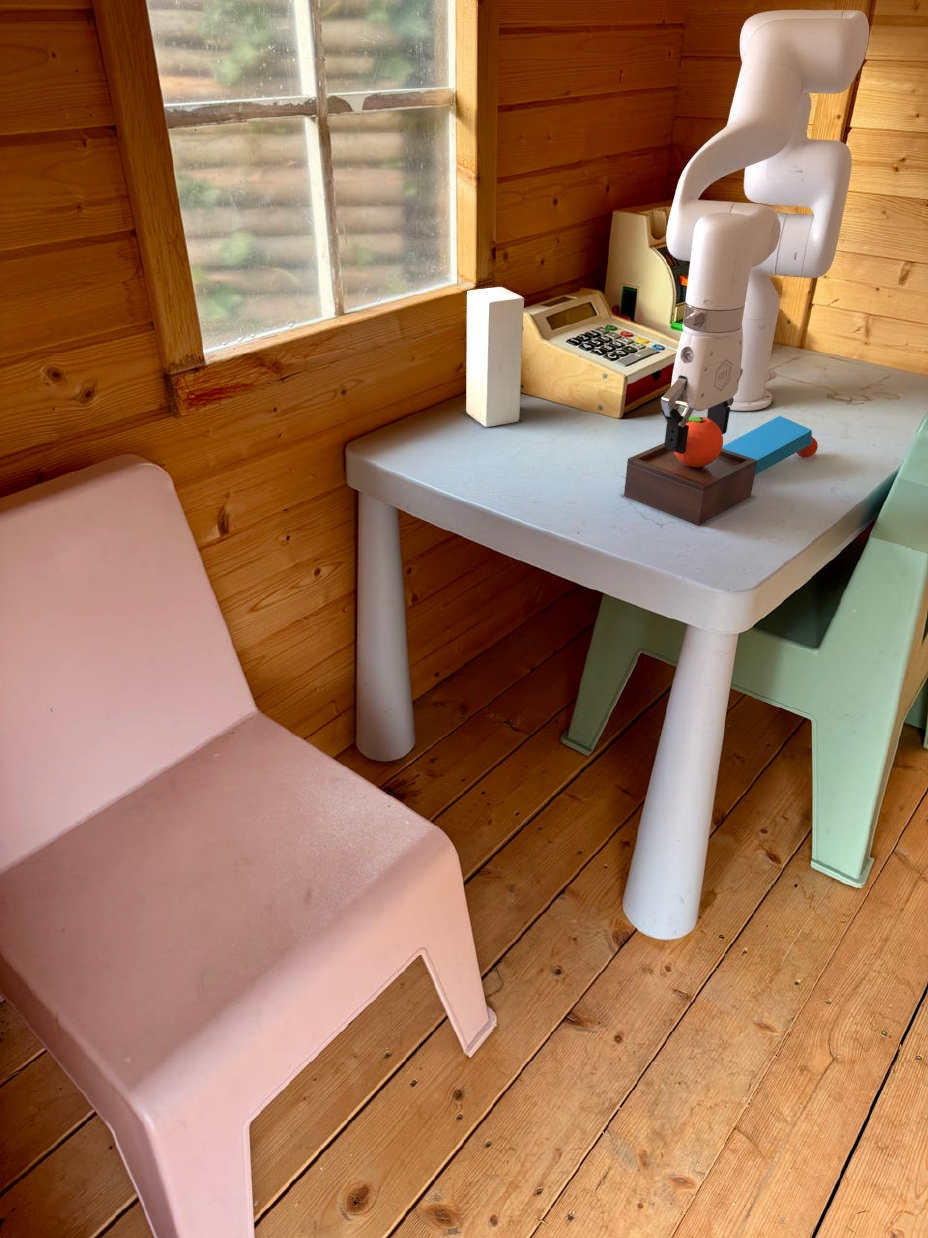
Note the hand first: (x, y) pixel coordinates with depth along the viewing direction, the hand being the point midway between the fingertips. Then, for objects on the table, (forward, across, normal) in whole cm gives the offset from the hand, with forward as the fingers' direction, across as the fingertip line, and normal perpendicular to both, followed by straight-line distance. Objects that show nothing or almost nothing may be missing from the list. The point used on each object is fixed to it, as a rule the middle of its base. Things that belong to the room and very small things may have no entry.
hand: (695, 440), depth 128 cm
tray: (+8, 0, 0) cm, 9 cm away
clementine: (+4, -1, 0) cm, 4 cm away
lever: (+9, +18, -2) cm, 20 cm away
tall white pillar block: (+9, +2, +42) cm, 43 cm away
